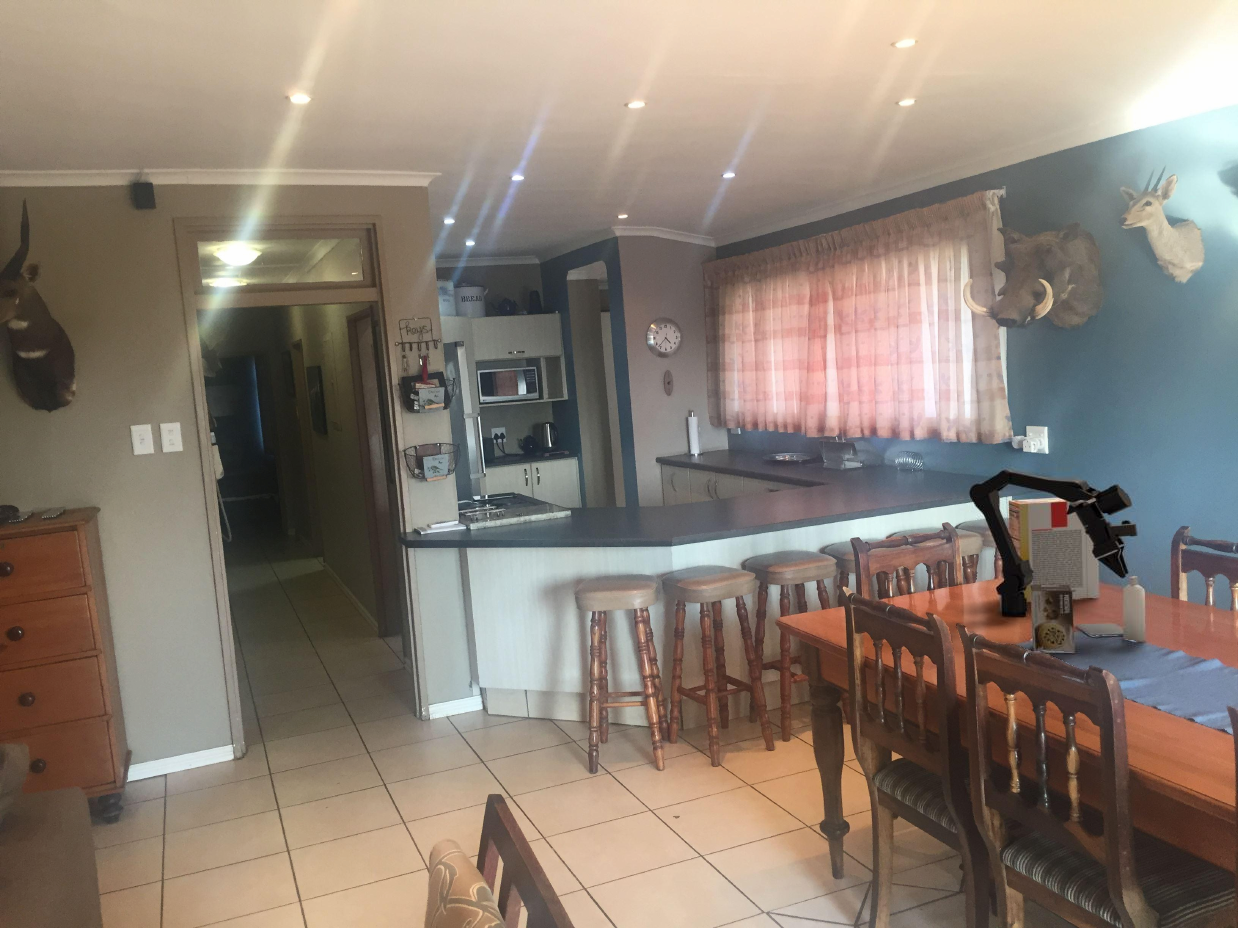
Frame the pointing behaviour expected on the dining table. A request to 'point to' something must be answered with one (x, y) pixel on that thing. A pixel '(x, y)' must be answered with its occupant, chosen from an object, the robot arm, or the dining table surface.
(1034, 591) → the cookie box
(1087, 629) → the coaster
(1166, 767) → the dining table surface
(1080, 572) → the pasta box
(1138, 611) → the white bottle
